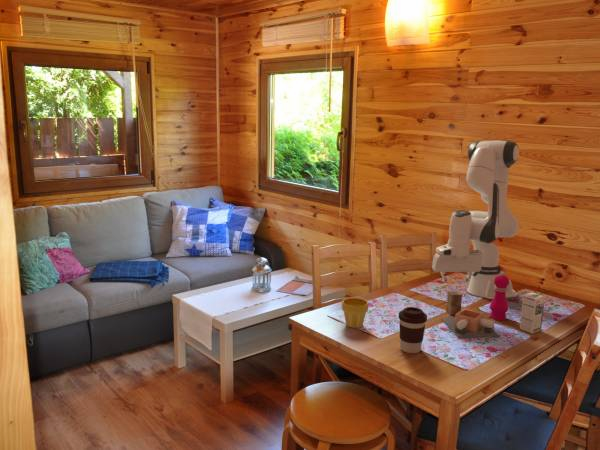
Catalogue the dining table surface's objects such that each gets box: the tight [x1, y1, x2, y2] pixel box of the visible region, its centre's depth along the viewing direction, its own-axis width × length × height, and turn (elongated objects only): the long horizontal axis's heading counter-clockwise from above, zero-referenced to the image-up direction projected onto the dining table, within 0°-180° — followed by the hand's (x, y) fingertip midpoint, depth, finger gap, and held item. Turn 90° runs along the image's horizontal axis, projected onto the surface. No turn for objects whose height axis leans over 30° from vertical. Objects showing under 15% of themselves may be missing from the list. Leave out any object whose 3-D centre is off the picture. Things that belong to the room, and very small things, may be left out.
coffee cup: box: [398, 306, 428, 354], centre depth 185 cm, size 10×10×15 cm
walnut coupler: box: [445, 290, 463, 316], centre depth 220 cm, size 4×4×9 cm
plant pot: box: [341, 297, 369, 329], centre depth 206 cm, size 10×10×10 cm
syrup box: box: [519, 292, 546, 334], centre depth 204 cm, size 6×6×14 cm
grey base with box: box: [440, 307, 500, 339], centre depth 205 cm, size 18×16×6 cm
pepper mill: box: [489, 271, 510, 321], centre depth 215 cm, size 7×7×20 cm
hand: (455, 281), depth 218 cm, fingers open, 8 cm apart
